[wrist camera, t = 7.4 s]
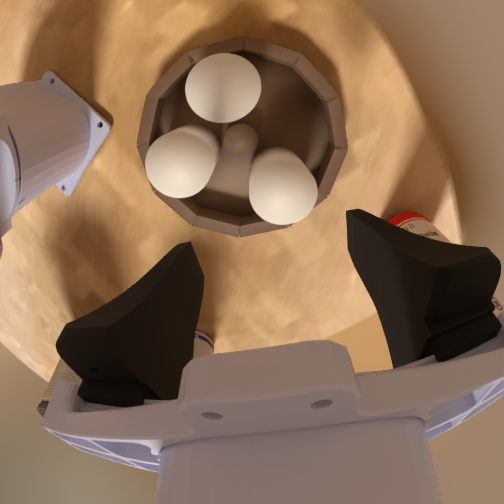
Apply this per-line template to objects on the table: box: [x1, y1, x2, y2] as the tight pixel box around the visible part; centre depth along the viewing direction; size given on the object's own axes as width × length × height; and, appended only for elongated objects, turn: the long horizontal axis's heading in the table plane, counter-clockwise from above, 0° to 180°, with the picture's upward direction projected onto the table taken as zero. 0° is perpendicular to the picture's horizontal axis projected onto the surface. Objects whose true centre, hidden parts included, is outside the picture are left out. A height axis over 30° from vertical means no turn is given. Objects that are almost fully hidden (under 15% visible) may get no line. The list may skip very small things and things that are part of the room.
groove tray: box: [137, 37, 348, 237], centre depth 17 cm, size 14×14×2 cm
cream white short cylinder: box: [145, 123, 221, 198], centre depth 16 cm, size 4×4×4 cm
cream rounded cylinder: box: [249, 146, 318, 225], centre depth 17 cm, size 4×4×4 cm
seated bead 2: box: [185, 53, 261, 123], centre depth 14 cm, size 4×4×4 cm
